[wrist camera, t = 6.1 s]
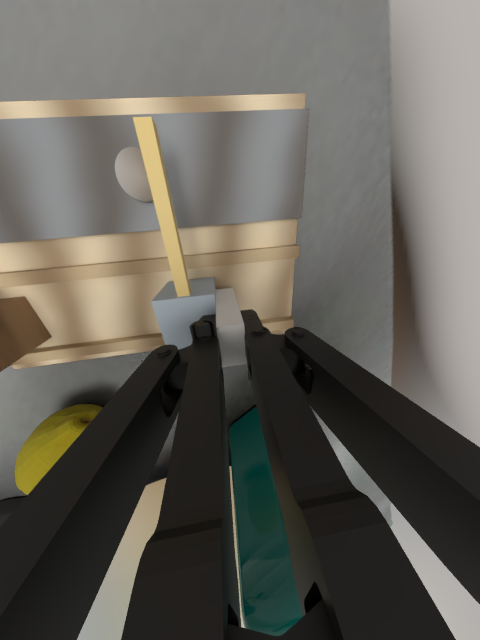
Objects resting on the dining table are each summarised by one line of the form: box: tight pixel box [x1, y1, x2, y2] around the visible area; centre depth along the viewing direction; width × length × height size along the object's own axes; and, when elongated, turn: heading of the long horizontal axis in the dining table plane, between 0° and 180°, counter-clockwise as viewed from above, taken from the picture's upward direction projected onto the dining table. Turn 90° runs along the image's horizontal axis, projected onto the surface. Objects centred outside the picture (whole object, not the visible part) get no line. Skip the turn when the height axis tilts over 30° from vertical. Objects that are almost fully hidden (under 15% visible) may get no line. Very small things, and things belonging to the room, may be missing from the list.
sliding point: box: [133, 117, 216, 350], centre depth 13 cm, size 4×12×5 cm, turn 4°
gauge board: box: [0, 93, 309, 372], centre depth 13 cm, size 28×18×6 cm, turn 94°
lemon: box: [15, 404, 103, 495], centre depth 20 cm, size 11×8×8 cm
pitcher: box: [229, 406, 303, 636], centre depth 19 cm, size 10×8×22 cm
